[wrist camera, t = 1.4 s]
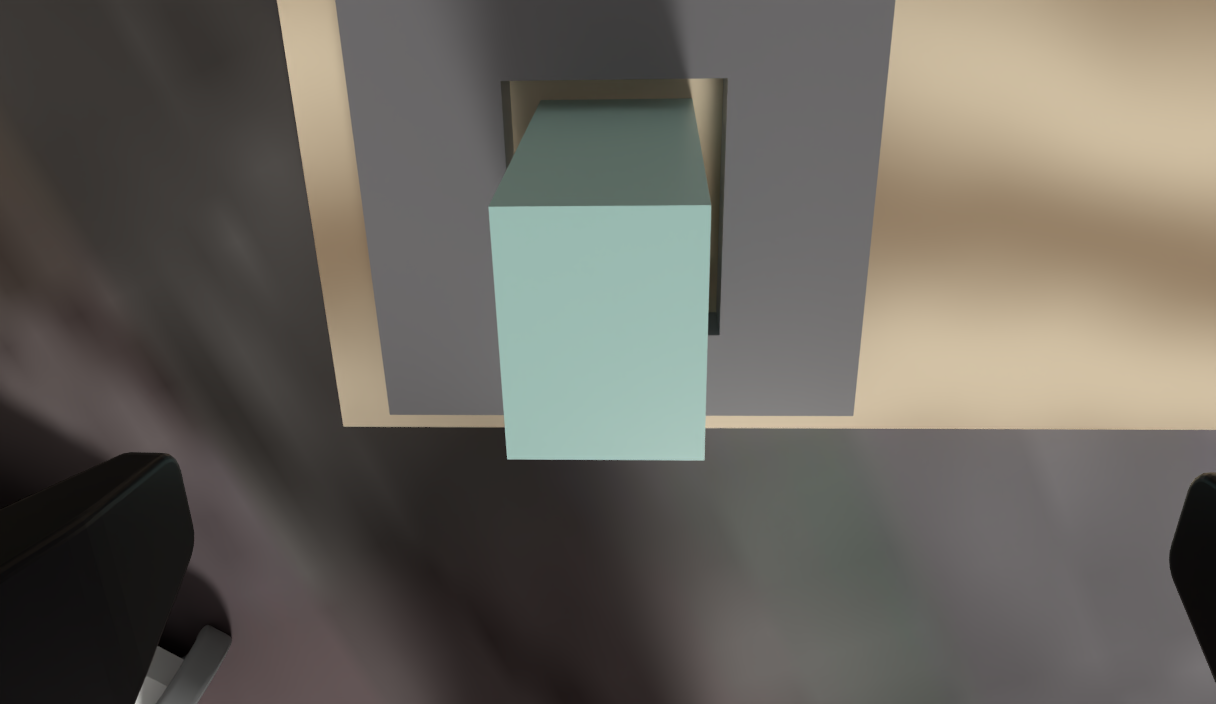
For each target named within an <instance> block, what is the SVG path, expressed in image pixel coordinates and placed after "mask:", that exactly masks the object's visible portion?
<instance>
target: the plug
mask: <svg viewBox="0 0 1216 704" xmlns="http://www.w3.org/2000/svg"><path fill="white" fill-rule="evenodd" d="M488 208H489V222H490V235H491V248H492V262H493V275H494V289H495V302H496V316H497V329H498V342H499V356H500V369H501V383H502V396H503V410H504V423H505V437H506V450H507V459H526V460H704V457H705V421H706V384H707V347H708V310H709V273H710V236H711V201H710V195H709V189H708V184H707V178H706V173H705V167H704V161H703V156H702V150H701V145H700V139H699V133H698V128H697V122H696V117H695V111H694V106H693V100H692V98H677V99H588V100H541V101H540V103H539V105H538V107H537V109H536V111H535V113H534V115H533V117H532V119H531V121H530V123H529V125H528V127H527V129H526V131H525V133H524V135H523V137H522V139H521V141H520V143H519V145H518V147H517V149H516V152H515V154H514V156H513V158H512V160H511V162H510V164H509V166H508V168H507V170H506V172H505V174H504V176H503V178H502V180H501V182H500V184H499V186H498V188H497V190H496V192H495V194H494V196H493V198H492V200H491V202H490V204H489V206H488Z"/></svg>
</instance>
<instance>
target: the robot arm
mask: <svg viewBox="0 0 1216 704" xmlns="http://www.w3.org/2000/svg"><path fill="white" fill-rule="evenodd" d="M193 546H194V529H193V523H192V519H191V514H190V510H189V505H188V501H187V496H186V492H185V487H184V483H183V478H182V474H181V470H180V467H179V464H178V463H177V461H176V459H175V458H173V457H172V456H171V455H169V454H166V453H137V452H130V453H124V454H121V455H119V456H117V457H114V458H112V459H110V460H108V461H106V462H103V463H101V464H99V465H97V466H95V467H92V468H90V469H88V470H86V471H84V472H81V473H79V474H77V475H75V476H73V477H70V478H68V479H66V480H64V481H62V482H59V483H57V484H55V485H53V486H51V487H48V488H46V489H44V490H42V491H40V492H37V493H35V494H33V495H31V496H29V497H26V498H24V499H22V500H20V501H18V502H15V503H13V504H11V505H9V506H7V507H4V508H2V509H0V704H135V702H136V700H137V697H138V695H139V692H140V690H141V688H142V685H143V683H144V680H145V678H146V675H147V673H148V670H149V667H150V665H151V662H152V659H153V657H154V654H155V651H156V649H157V646H158V643H159V641H160V638H161V635H162V633H163V630H164V628H165V625H166V622H167V620H168V617H169V614H170V612H171V609H172V606H173V604H174V601H175V598H176V596H177V593H178V590H179V588H180V585H181V582H182V580H183V577H184V574H185V572H186V569H187V566H188V564H189V561H190V558H191V555H192V551H193ZM1169 563H1170V570H1171V575H1172V578H1173V581H1174V584H1175V586H1176V588H1177V591H1178V593H1179V596H1180V598H1181V600H1182V603H1183V605H1184V608H1185V610H1186V612H1187V615H1188V617H1189V620H1190V622H1191V624H1192V627H1193V629H1194V632H1195V634H1196V636H1197V639H1198V641H1199V644H1200V646H1201V649H1202V651H1203V653H1204V656H1205V658H1206V661H1207V663H1208V665H1209V668H1210V670H1211V673H1212V675H1213V677H1214V680H1215V682H1216V473H1203V474H1201V475H1200V476H1198V477H1196V478H1195V479H1194V480H1193V482H1192V483H1191V485H1190V487H1189V490H1188V492H1187V496H1186V499H1185V502H1184V505H1183V509H1182V512H1181V515H1180V519H1179V522H1178V525H1177V528H1176V532H1175V535H1174V538H1173V541H1172V545H1171V549H1170V556H1169Z"/></svg>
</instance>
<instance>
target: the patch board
mask: <svg viewBox="0 0 1216 704" xmlns="http://www.w3.org/2000/svg"><path fill="white" fill-rule="evenodd" d="M277 4H278V10H279V16H280V23H281V29H282V36H283V42H284V48H285V55H286V61H287V68H288V74H289V80H290V87H291V93H292V100H293V106H294V113H295V119H296V125H297V132H298V138H299V145H300V151H301V157H302V164H303V170H304V177H305V183H306V189H307V196H308V202H309V209H310V215H311V221H312V228H313V234H314V241H315V247H316V254H317V260H318V266H319V273H320V279H321V286H322V292H323V298H324V305H325V311H326V318H327V324H328V330H329V337H330V343H331V350H332V356H333V363H334V369H335V375H336V382H337V388H338V395H339V401H340V407H341V414H342V420H343V427H505V423H504V415H390V412H389V405H388V397H387V390H386V382H385V375H384V367H383V359H382V352H381V344H380V337H379V329H378V321H377V314H376V306H375V299H374V291H373V283H372V276H371V268H370V261H369V253H368V246H367V238H366V230H365V223H364V215H363V208H362V200H361V192H360V185H359V177H358V170H357V162H356V155H355V147H354V139H353V132H352V124H351V117H350V109H349V101H348V94H347V86H346V79H345V71H344V63H343V56H342V48H341V41H340V33H339V26H338V18H337V10H336V3H335V0H277ZM510 96H511V112H512V129H513V145H514V154H515V152H516V149H517V147H518V145H519V143H520V141H521V139H522V137H523V135H524V133H525V131H526V129H527V127H528V125H529V123H530V121H531V119H532V117H533V115H534V113H535V111H536V109H537V107H538V105H539V103H540V101H541V100H588V99H677V98H692V100H693V106H694V111H695V117H696V122H697V128H698V133H699V139H700V145H701V150H702V156H703V161H704V167H705V173H706V178H707V184H708V189H709V195H710V201H711V236H710V273H709V310H708V312H716V301H717V268H718V236H719V203H720V171H721V138H722V106H723V78H706V79H624V80H541V81H510ZM705 428H865V429H1152V430H1216V0H895V10H894V20H893V30H892V40H891V50H890V59H889V69H888V79H887V89H886V99H885V109H884V119H883V128H882V138H881V148H880V158H879V168H878V178H877V188H876V197H875V207H874V217H873V227H872V237H871V247H870V257H869V267H868V276H867V286H866V296H865V306H864V316H863V326H862V336H861V345H860V355H859V365H858V375H857V385H856V395H855V405H854V414H853V416H706V421H705Z"/></svg>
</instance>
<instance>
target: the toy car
mask: <svg viewBox="0 0 1216 704" xmlns="http://www.w3.org/2000/svg"><path fill="white" fill-rule="evenodd" d="M231 642H232V638H231V637H230V636H229V635H227V634H225V633H223V632H222V631H220V630H218V629H216V628H214V627H212V626H210V625H206V626H204V627H203V628H202V629H201V631H200V632H199V634H198V636H197V638H196V641H195V643H194V645H193V647H192V648H191V650H190V652H189V653H188V654H187V655H185V656H184V657H182V658H180V657H178V656H176V655H174V654H172V653H170V652H168V651H166V650H164V649H163V648H161V647H159V646H157V649H156V651H155V654H154V657H153V659H152V662H151V665H150V667H149V670H148V673H147V675H146V678H145V680H144V683H143V685H142V688H141V690H140V692H139V695H138V697H137V700H136V702H135V704H197V702H198V701H199V699H200V698H201V696H202V695H203V693H204V692H205V690H206V688H207V687H208V685H209V683H210V682H211V680H212V678H213V677H214V675H215V673H216V672H217V670H218V668H219V667H220V665H221V663H222V661H223V659H224V658H225V656H226V654H227V652H228V650H229V648H230V645H231Z"/></svg>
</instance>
